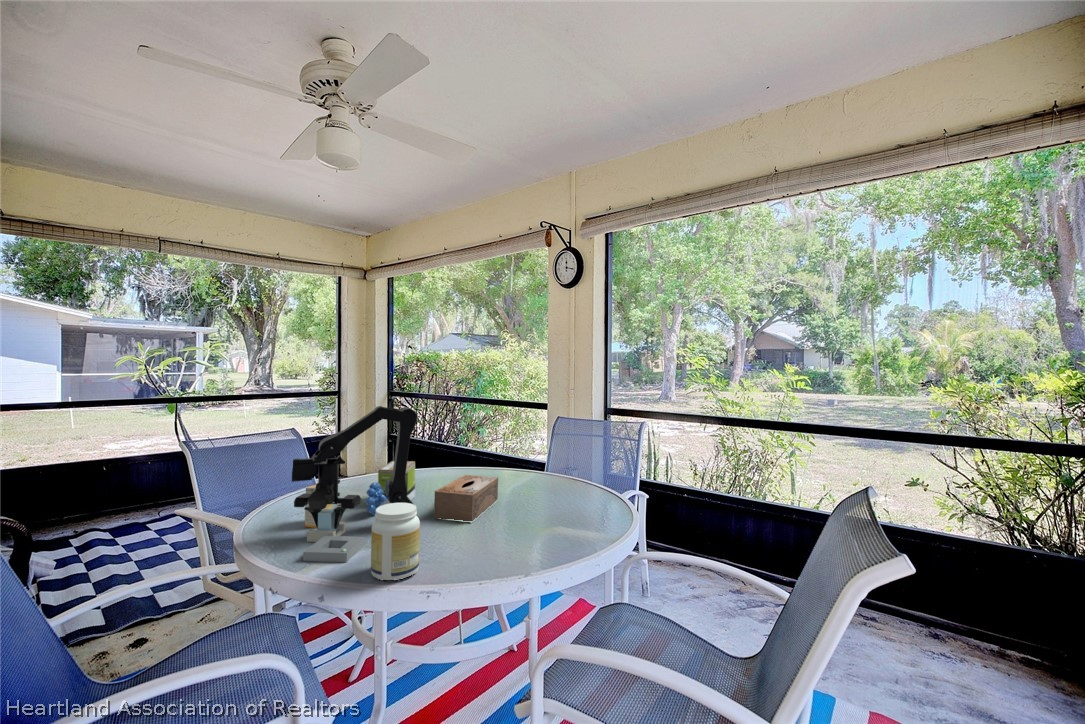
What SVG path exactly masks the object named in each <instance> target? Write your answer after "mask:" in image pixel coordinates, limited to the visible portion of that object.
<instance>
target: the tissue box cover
mask: <svg viewBox="0 0 1085 724" xmlns="http://www.w3.org/2000/svg"><path fill="white" fill-rule="evenodd" d="M498 494H499V477H495V476H494V477H493V476H485V475H483V476H482V475H472V474H463V475H461V476H459V477H458V478H456V479H454V480H453V481H450V482H449V483H447V484H445V485H443V486H442V487H440V488H439V489H437V490H435V491H434V500H433V501H434V505H433V508H434V509H433V511H434V512H433V515H434V516H433V519H434V518H441V519H454V520H463V521H473V520H474V519H475V518H477V517H478V516H479V515H480V514H481V513H482V512H484V511H485V510H486V509H487V508H488V507H489V506H491V505H492V504H493V503H494V502H495V501H496V500H497V499H498V500H499V497H498V496H499V495H498Z"/></svg>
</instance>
